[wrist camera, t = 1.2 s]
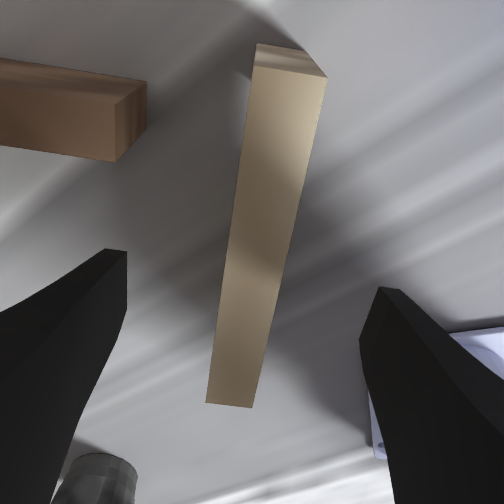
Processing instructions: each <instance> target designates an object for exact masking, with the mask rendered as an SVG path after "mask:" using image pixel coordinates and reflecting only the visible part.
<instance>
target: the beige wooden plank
mask: <svg viewBox="0 0 504 504" xmlns="http://www.w3.org/2000/svg"><path fill="white" fill-rule="evenodd" d="M327 79H328V78H327V76H326V75H325V74H324V73H323V71H322V70H321V69H320V68H319V67H318V65H317V64H316V63H315V62H314V60H313V59H312V58H311V57H310V55H309V54H308V53H307V52H306V51H302V50H296V49H290V48H284V47H278V46H273V45H267V44H261V43H257V45H256V52H255V59H254V66H253V73H252V80H251V87H250V94H249V101H248V108H247V115H246V122H245V129H244V136H243V143H242V150H241V157H240V164H239V171H238V178H237V185H236V192H235V199H234V206H233V213H232V219H231V226H230V233H229V240H228V247H227V254H226V261H225V268H224V275H223V282H222V289H221V296H220V303H219V310H218V317H217V324H216V331H215V338H214V345H213V352H212V359H211V366H210V373H209V380H208V388H207V395H206V402H205V403H213V404H221V405H230V406H238V407H246V408H252V406H253V402H254V398H255V393H256V389H257V384H258V380H259V376H260V371H261V367H262V363H263V358H264V354H265V350H266V345H267V341H268V336H269V332H270V328H271V323H272V319H273V315H274V310H275V306H276V302H277V297H278V293H279V289H280V284H281V280H282V275H283V271H284V267H285V262H286V258H287V254H288V249H289V245H290V241H291V236H292V232H293V228H294V223H295V219H296V214H297V210H298V206H299V201H300V197H301V193H302V188H303V184H304V180H305V175H306V171H307V167H308V162H309V158H310V153H311V149H312V145H313V140H314V136H315V132H316V127H317V123H318V119H319V114H320V110H321V105H322V101H323V97H324V92H325V88H326V84H327Z"/></svg>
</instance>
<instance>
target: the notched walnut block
mask: <svg viewBox="0 0 504 504" xmlns="http://www.w3.org/2000/svg"><path fill="white" fill-rule="evenodd" d="M146 86H147V82H145V81H139V80H132V79H126V78H120V77H114V76H108V75H102V74H96V73H90V72H84V71H78V70H72V69H66V68H60V67H54V66H47V65H41V64H35V63H29V62H23V61H17V60H11V59H5V58H0V145H4V146H10V147H17V148H23V149H30V150H36V151H43V152H49V153H56V154H62V155H69V156H75V157H82V158H88V159H95V160H102V161H108V162H115V163H116V161H117V160H118V159H119V158H120V157H121V156H122V155H123V154H124V153H125V151H126V150H127V149H128V148H129V147H130V146H131V145H132V144H133V143H134V141H135V140H136V139H137V138H138V137H139V136H140V135H141V134H142V133H143V132H144V130H145V127H146Z"/></svg>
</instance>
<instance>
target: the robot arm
mask: <svg viewBox="0 0 504 504" xmlns="http://www.w3.org/2000/svg"><path fill="white" fill-rule="evenodd" d="M126 310H127V251H121V250H113V249H106V248H105V249H103V250H102V251H100V252H98V253H97V254H96V255H94V256H93V257H91V258H90V259H88V260H87V261H85V262H84V263H82V264H81V265H79V266H78V267H77V268H75V269H74V270H72V271H71V272H69V273H67V274H66V275H64V276H63V277H61V278H60V279H58V280H57V281H55V282H54V283H52V284H50V285H49V286H47V287H45V288H44V289H42V290H40V291H38V292H37V293H35V294H33V295H32V296H30V297H28V298H26V299H25V300H23V301H21V302H19V303H17V304H16V305H14V306H12V307H10V308H8V309H6V310H4V311H2V312H0V504H50V502H51V499H52V496H53V493H54V490H55V487H56V484H57V481H58V478H59V475H60V472H61V469H62V466H63V463H64V460H65V457H66V455H67V452H68V449H69V446H70V444H71V441H72V438H73V435H74V432H75V430H76V427H77V424H78V422H79V419H80V417H81V415H82V412H83V410H84V408H85V405H86V403H87V401H88V399H89V397H90V395H91V393H92V391H93V389H94V387H95V385H96V383H97V381H98V379H99V376H100V374H101V372H102V370H103V368H104V366H105V364H106V362H107V360H108V358H109V356H110V354H111V351H112V349H113V347H114V345H115V343H116V341H117V338H118V335H119V332H120V329H121V326H122V323H123V320H124V317H125V314H126ZM359 344H360V353H361V360H362V367H363V372H364V376H365V380H366V383H367V387H368V396H369V407H370V418H371V430H372V441H373V451H374V455H375V457H376V458H377V459H387V460H388V466H389V471H390V477H391V483H392V488H393V494H394V501H395V504H504V327H497V328H490V329H482V330H474V331H466V332H459V333H451V334H448V333H447V332H446V331H445V330H443V329H442V328H441V327H440V326H439V325H438V324H437V323H436V322H435V321H434V320H433V319H432V318H431V317H430V316H429V315H427V314H426V313H425V312H424V311H423V310H422V309H421V308H420V307H419V306H418V305H417V304H416V303H415V302H414V301H413V300H411V299H410V298H409V297H408V296H407V295H406V294H405V293H403V292H402V291H401V290H400V289H393V288H386V287H379V288H378V290H377V293H376V296H375V298H374V301H373V304H372V306H371V309H370V311H369V314H368V317H367V319H366V322H365V325H364V327H363V330H362V333H361V335H360V338H359Z"/></svg>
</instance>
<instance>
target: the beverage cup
mask: <svg viewBox="0 0 504 504" xmlns="http://www.w3.org/2000/svg"><path fill="white" fill-rule="evenodd" d="M137 478H138V476H137V473H136V470H135V469H134V468H133V467H132V466H131V464H129V463H127V462H126V461H124V460H123V459H120V458H118V457H115V456H112V455H107V454H88V455H84V456H81V457H80V458H78V459H76V460H75V461H74V463H73V464H72V465H71V468H70V470H69V473H68V474H67V475H66V477H65V479H64V481H63V483H62V484H61V485H60V487H59V488H58V490H57V492H56V494H55V496H54V498H53V500H52V502H51V504H134V501H135V499H134V496H135V489H136V487H135V486H136V482H137Z"/></svg>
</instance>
